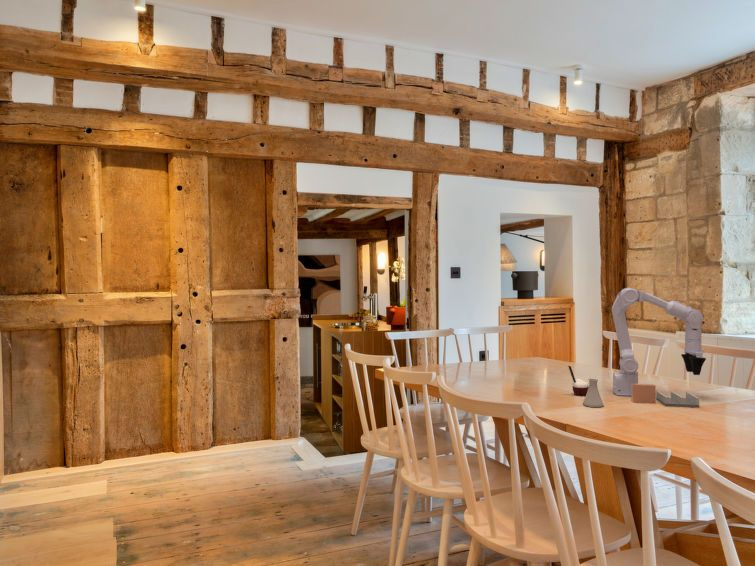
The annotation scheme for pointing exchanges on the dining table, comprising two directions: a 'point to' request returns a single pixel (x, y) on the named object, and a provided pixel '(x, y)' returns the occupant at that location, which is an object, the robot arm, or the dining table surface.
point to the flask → (593, 395)
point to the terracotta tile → (643, 393)
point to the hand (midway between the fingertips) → (693, 373)
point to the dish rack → (678, 400)
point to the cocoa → (578, 385)
